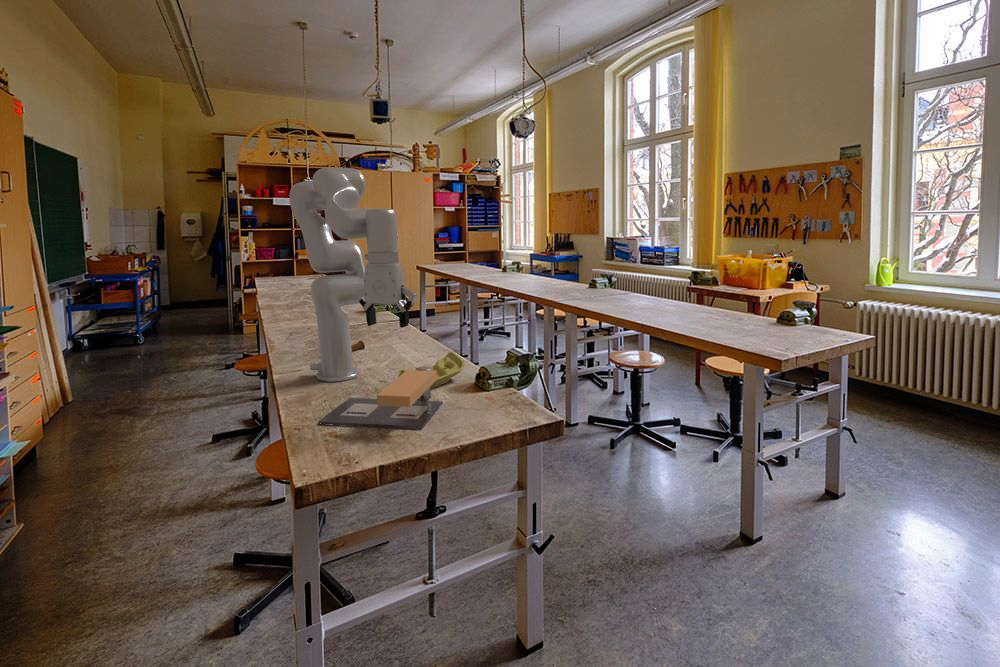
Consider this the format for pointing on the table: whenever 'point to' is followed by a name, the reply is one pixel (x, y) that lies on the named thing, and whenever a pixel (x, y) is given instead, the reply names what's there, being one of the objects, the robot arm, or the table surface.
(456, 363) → the plastic component
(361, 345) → the primitive tool
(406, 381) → the orange rectangular block
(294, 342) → the table surface
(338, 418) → the label plate
